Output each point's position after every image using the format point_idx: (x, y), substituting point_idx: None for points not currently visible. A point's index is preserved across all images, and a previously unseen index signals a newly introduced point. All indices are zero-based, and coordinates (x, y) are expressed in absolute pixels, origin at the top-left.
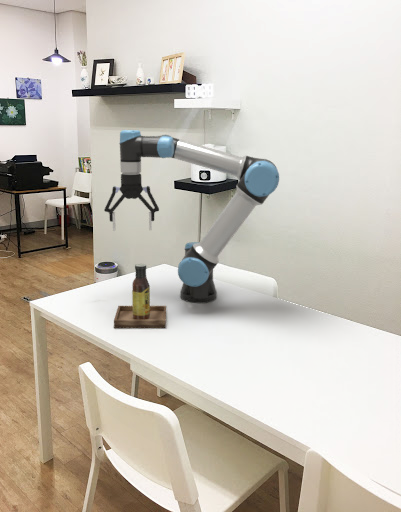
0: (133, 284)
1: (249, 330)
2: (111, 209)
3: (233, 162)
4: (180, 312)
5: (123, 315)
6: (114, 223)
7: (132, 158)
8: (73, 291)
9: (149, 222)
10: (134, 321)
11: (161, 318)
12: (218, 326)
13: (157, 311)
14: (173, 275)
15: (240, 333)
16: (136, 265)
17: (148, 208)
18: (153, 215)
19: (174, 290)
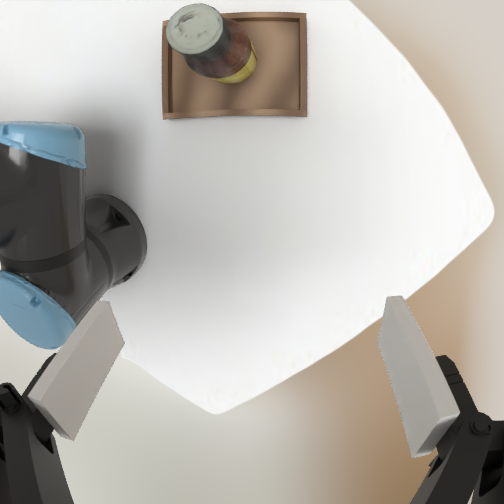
0: (242, 28)
1: (21, 63)
2: (480, 451)
3: None
4: (135, 128)
5: (286, 77)
6: (410, 336)
7: None
8: (422, 280)
9: (79, 340)
10: (247, 13)
11: (177, 61)
12: (62, 63)
13: (190, 107)
14: (186, 369)
15: (35, 44)
16: (214, 15)
17: (26, 442)
18: (33, 385)
19: (167, 281)
